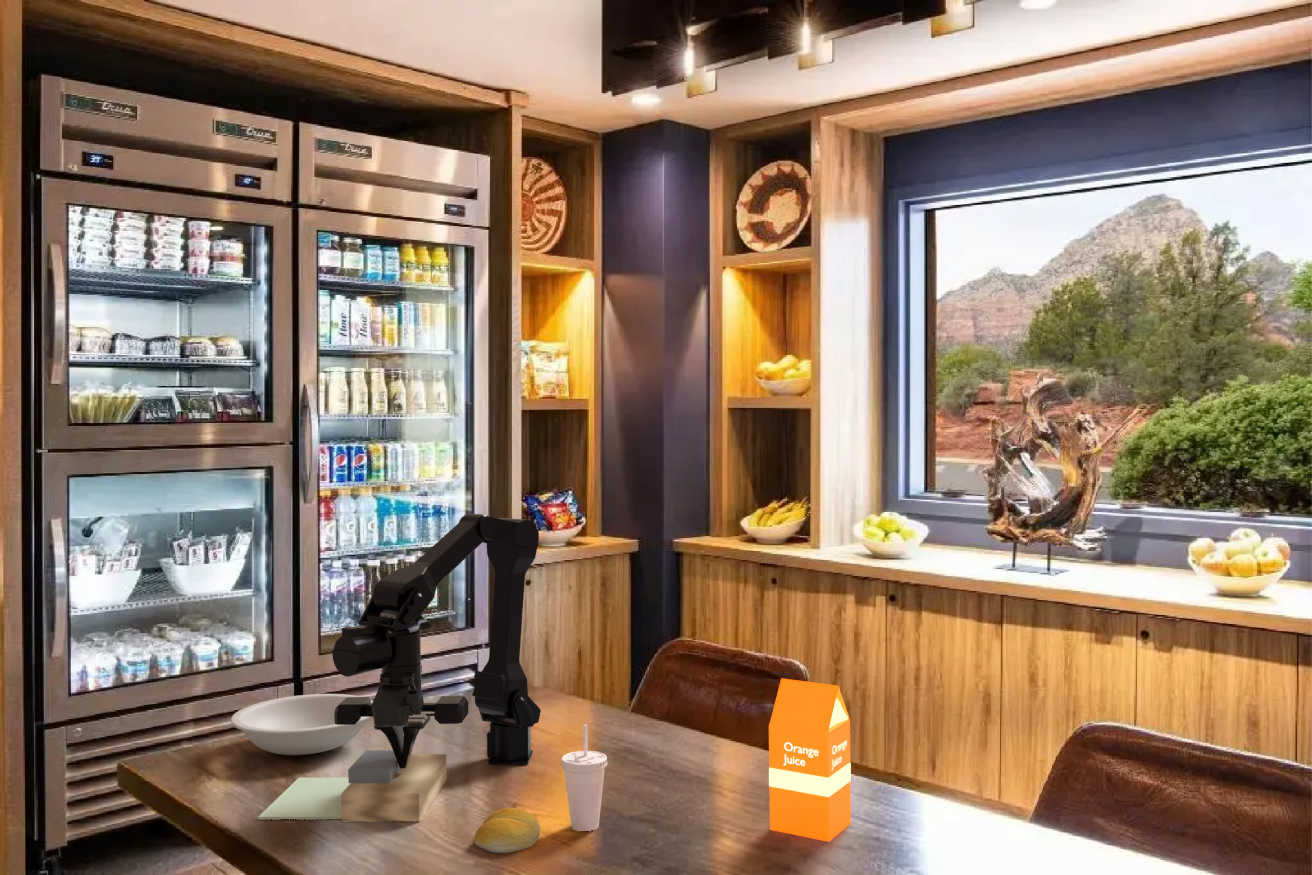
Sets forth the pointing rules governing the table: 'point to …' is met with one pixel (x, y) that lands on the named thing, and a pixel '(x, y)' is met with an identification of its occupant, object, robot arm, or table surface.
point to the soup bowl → (296, 724)
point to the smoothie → (584, 785)
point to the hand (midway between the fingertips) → (403, 767)
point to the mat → (309, 800)
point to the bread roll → (508, 831)
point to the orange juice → (809, 761)
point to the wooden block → (397, 792)
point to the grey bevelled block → (374, 767)
